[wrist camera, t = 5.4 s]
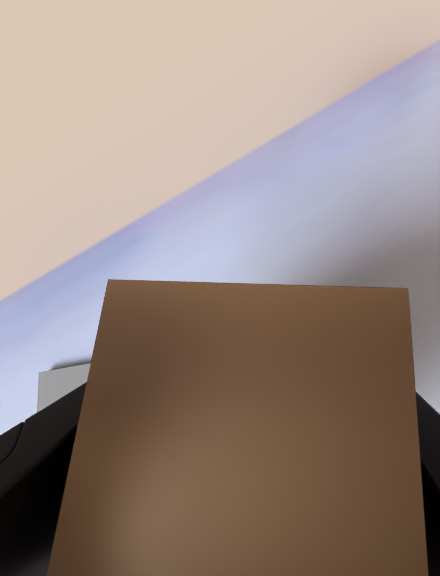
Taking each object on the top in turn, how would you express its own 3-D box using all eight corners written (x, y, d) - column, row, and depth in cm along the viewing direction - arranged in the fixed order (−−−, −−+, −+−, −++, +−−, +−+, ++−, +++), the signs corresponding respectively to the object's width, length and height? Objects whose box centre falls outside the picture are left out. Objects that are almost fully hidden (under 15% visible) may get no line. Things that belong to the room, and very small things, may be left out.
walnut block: (330, 479, 13) (441, 750, 3) (210, 459, 14) (38, 614, 4) (330, 353, 14) (408, 288, 5) (221, 344, 15) (107, 279, 6)
